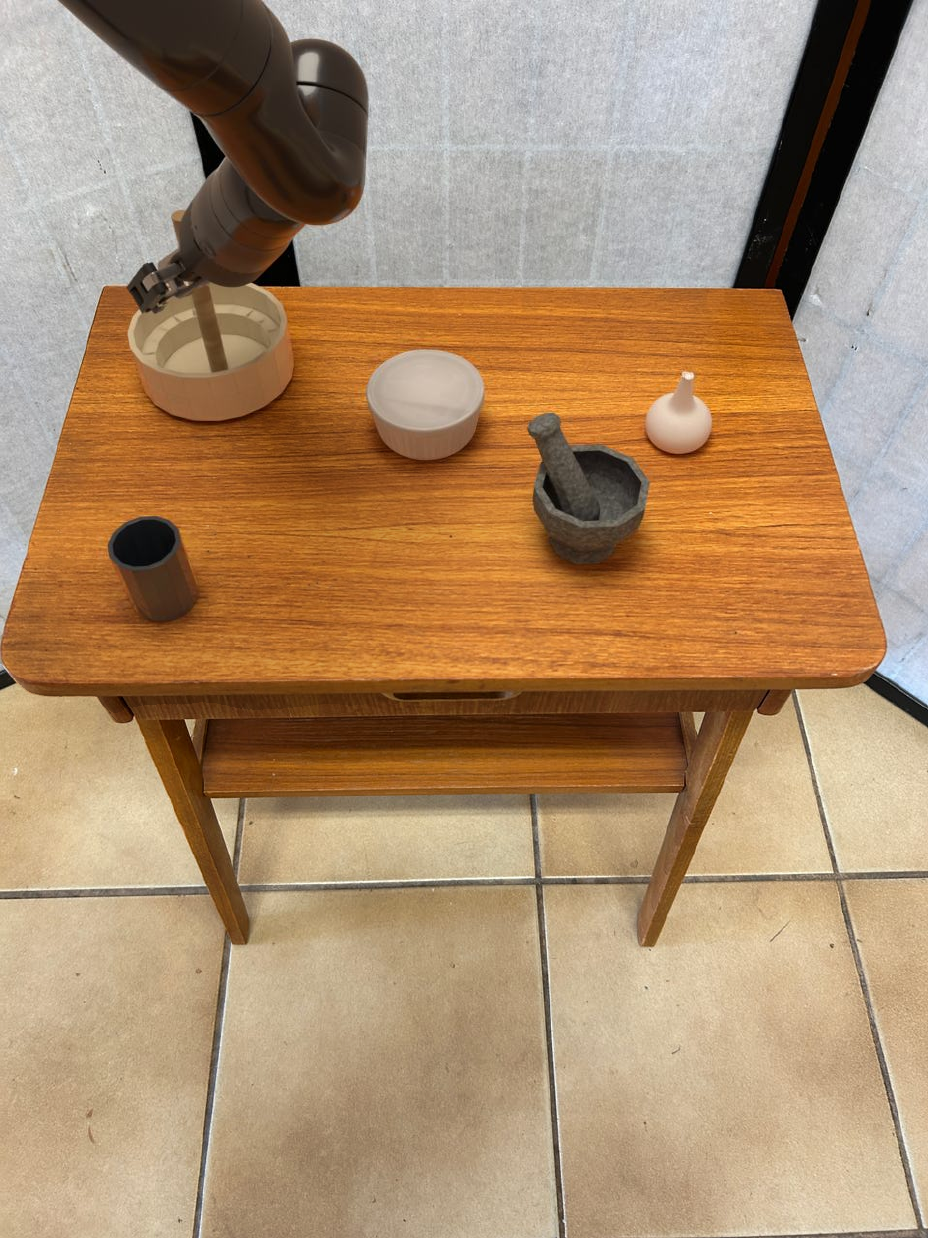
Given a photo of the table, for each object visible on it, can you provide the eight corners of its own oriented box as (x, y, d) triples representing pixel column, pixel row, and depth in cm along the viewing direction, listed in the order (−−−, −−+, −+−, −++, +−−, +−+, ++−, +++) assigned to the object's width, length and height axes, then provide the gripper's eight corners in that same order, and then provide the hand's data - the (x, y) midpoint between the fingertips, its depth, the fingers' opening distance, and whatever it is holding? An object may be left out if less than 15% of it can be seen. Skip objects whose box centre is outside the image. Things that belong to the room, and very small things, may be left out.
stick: (212, 376, 96) (172, 222, 83) (209, 365, 97) (169, 210, 84) (229, 373, 97) (193, 218, 83) (227, 362, 98) (190, 207, 84)
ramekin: (388, 482, 89) (385, 440, 85) (355, 404, 95) (351, 362, 91) (500, 454, 91) (502, 412, 87) (461, 380, 97) (461, 338, 93)
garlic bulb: (716, 427, 94) (736, 362, 87) (694, 467, 91) (713, 402, 84) (656, 406, 96) (671, 340, 89) (633, 444, 92) (646, 379, 86)
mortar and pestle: (655, 527, 86) (681, 428, 76) (608, 596, 81) (629, 501, 72) (546, 478, 90) (558, 378, 80) (495, 542, 85) (501, 444, 75)
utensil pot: (136, 629, 79) (111, 577, 73) (128, 577, 82) (104, 524, 76) (203, 613, 80) (184, 561, 74) (193, 563, 83) (174, 508, 77)
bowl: (154, 439, 92) (137, 390, 87) (136, 342, 100) (120, 293, 96) (308, 407, 95) (300, 359, 90) (278, 315, 103) (270, 267, 98)
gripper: (287, 146, 77) (231, 217, 91) (134, 211, 71) (100, 276, 86) (334, 234, 79) (272, 290, 93) (188, 304, 74) (146, 353, 88)
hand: (190, 283), depth 90 cm, fingers open, 8 cm apart
